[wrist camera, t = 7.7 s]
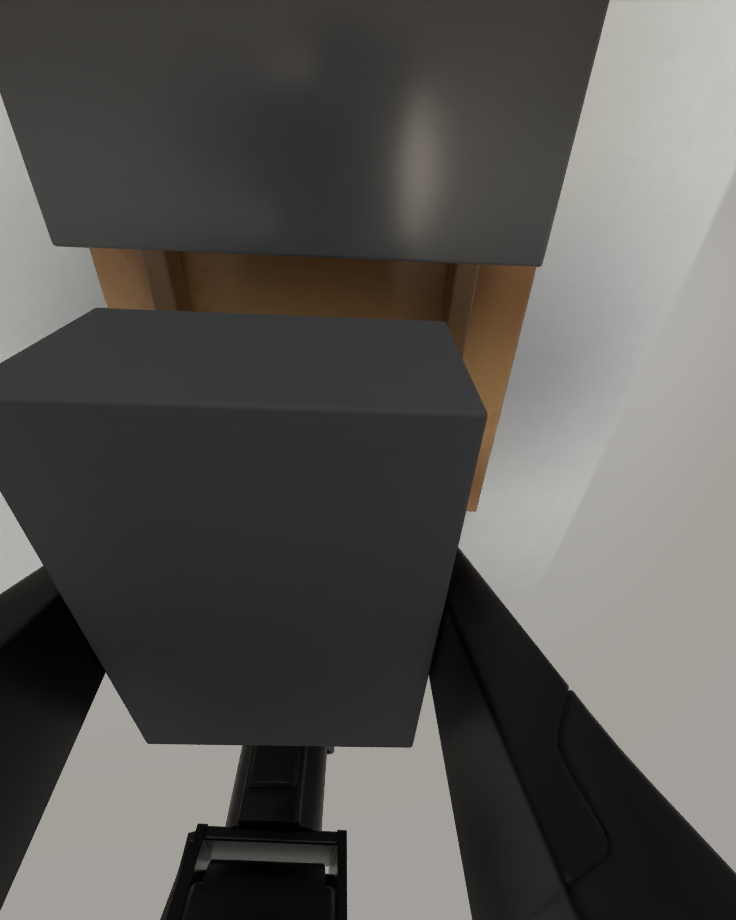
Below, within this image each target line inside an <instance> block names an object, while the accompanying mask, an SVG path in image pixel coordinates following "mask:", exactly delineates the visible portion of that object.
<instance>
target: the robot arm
mask: <svg viewBox="0 0 736 920" xmlns="http://www.w3.org/2000/svg"><path fill="white" fill-rule="evenodd" d="M104 675H105V670H104V668H103V667H102V665H101V663H100V661H99V660H98V658H97V656H96V655H95V653H94V651H93V649H92V648H91V646H90V644H89V642H88V641H87V639H86V637H85V636H84V634H83V632H82V630H81V629H80V627H79V625H78V624H77V622H76V620H75V618H74V617H73V615H72V613H71V612H70V610H69V608H68V606H67V605H66V603H65V601H64V600H63V598H62V596H61V594H60V593H59V591H58V589H57V588H56V586H55V584H54V582H53V581H52V579H51V577H50V576H49V574H48V572H47V570H46V569H45V567H44V566H42V567H41V568H39V569H38V570H36V571H35V572H33V573H32V574H30V575H29V576H27V577H26V578H24V579H23V580H21V581H20V582H18V583H17V584H15V585H14V586H12V587H11V588H9V589H7V590H6V591H4V592H3V593H1V594H0V910H1V908H2V905H3V903H4V901H5V899H6V896H7V894H8V892H9V889H10V887H11V885H12V882H13V880H14V878H15V876H16V874H17V871H18V869H19V867H20V865H21V862H22V860H23V858H24V855H25V853H26V851H27V849H28V846H29V844H30V842H31V840H32V838H33V835H34V833H35V830H36V828H37V826H38V824H39V822H40V819H41V817H42V815H43V813H44V810H45V808H46V806H47V803H48V801H49V799H50V797H51V795H52V792H53V790H54V788H55V785H56V783H57V781H58V779H59V776H60V774H61V772H62V770H63V767H64V765H65V763H66V760H67V758H68V756H69V754H70V751H71V749H72V747H73V745H74V743H75V740H76V738H77V736H78V733H79V731H80V729H81V727H82V724H83V722H84V720H85V718H86V715H87V713H88V711H89V709H90V706H91V704H92V702H93V699H94V697H95V695H96V693H97V690H98V688H99V686H100V684H101V681H102V679H103V677H104ZM429 678H430V684H431V689H432V695H433V700H434V706H435V712H436V718H437V723H438V728H439V735H440V740H441V746H442V751H443V757H444V763H445V768H446V774H447V779H448V785H449V791H450V796H451V802H452V808H453V813H454V819H455V825H456V830H457V836H458V842H459V847H460V853H461V858H462V864H463V869H464V875H465V881H466V887H467V892H468V898H469V903H470V909H471V915H472V920H736V873H735V872H734V871H733V870H732V869H731V868H730V867H729V866H728V865H727V863H726V862H725V861H724V860H723V859H722V858H721V857H720V856H719V855H718V854H717V853H716V852H715V851H714V850H713V848H712V847H711V846H710V845H709V844H708V843H707V842H706V841H705V840H704V839H703V838H702V837H701V836H700V835H699V834H698V833H697V831H696V830H695V829H694V828H693V827H692V826H691V825H690V824H689V823H688V822H687V821H686V820H685V819H684V817H683V816H682V815H681V814H680V813H679V812H678V811H677V810H676V809H675V808H674V807H673V806H672V805H671V804H670V803H669V801H668V800H667V799H666V798H665V797H664V796H663V795H662V794H661V793H660V792H659V791H658V790H657V789H656V788H655V787H654V785H653V784H652V783H651V782H650V781H649V780H648V779H647V778H646V777H645V775H644V774H643V773H642V772H641V771H640V770H639V769H638V768H637V767H636V765H635V764H634V763H633V762H632V761H631V760H630V759H629V758H628V757H627V756H626V755H625V754H624V752H623V751H622V750H621V749H620V748H619V747H618V745H617V744H616V743H615V742H614V741H613V739H612V738H611V737H610V736H609V735H608V733H607V732H606V731H605V730H604V729H603V727H602V726H601V725H600V724H599V723H598V721H597V720H596V719H595V718H594V717H593V715H592V714H591V713H590V712H589V711H588V709H587V708H586V707H585V706H584V704H583V703H582V702H581V701H580V699H579V698H578V697H577V696H576V694H575V693H574V692H573V691H572V690H569V691H568V689H569V686H568V685H567V683H566V682H565V681H564V679H563V678H562V677H561V676H560V675H559V673H558V672H557V671H556V669H555V668H554V667H553V666H552V664H551V663H550V662H549V661H548V659H547V658H546V657H545V656H544V654H543V653H542V652H541V651H540V649H539V648H538V647H537V646H536V645H535V643H534V642H533V641H532V639H531V638H530V637H529V636H528V634H527V633H526V632H525V631H524V629H523V628H522V627H521V625H520V624H519V623H518V622H517V620H516V619H515V618H514V617H513V615H512V614H511V613H510V612H509V610H508V609H507V608H506V607H505V606H504V604H503V603H502V602H501V600H500V599H499V598H498V597H497V595H496V594H495V593H494V592H493V590H492V589H491V588H490V587H489V585H488V584H487V583H486V582H485V580H484V579H483V578H482V577H481V575H480V574H479V573H478V572H477V570H476V569H475V568H474V567H473V565H472V564H471V563H470V561H469V560H468V559H467V558H466V556H465V555H464V554H463V553H462V551H461V550H460V549H459V548H457V553H456V557H455V562H454V566H453V570H452V575H451V579H450V583H449V588H448V592H447V597H446V601H445V605H444V610H443V614H442V618H441V623H440V627H439V632H438V636H437V640H436V645H435V649H434V654H433V658H432V662H431V667H430V671H429ZM333 752H334V746H268V745H242V750H241V755H240V759H239V764H238V769H237V774H236V779H235V783H234V788H233V793H232V798H231V802H230V807H229V812H228V817H227V821H226V826H225V827H218V826H216V827H215V826H208V824H198V825H197V829H196V831H194V832H191V833H188V837H187V841H186V845H185V848H184V852H183V856H182V860H181V863H180V867H179V870H178V873H177V876H176V879H175V882H174V884H173V887H172V890H171V892H170V895H169V898H168V900H167V903H166V906H165V908H164V911H163V914H162V916H161V919H160V920H347V831H346V830H337V832H329V831H322V815H323V800H324V786H325V771H326V756H327V754H332V753H333ZM325 866H329V874H325Z"/></svg>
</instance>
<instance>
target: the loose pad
mask: <svg viewBox="0 0 736 920" xmlns="http://www.w3.org/2000/svg"><path fill="white" fill-rule="evenodd" d="M487 417H488V414H487V411H486V409H485V407H484V404H483V402H482V400H481V398H480V396H479V394H478V391H477V389H476V387H475V385H474V383H473V381H472V378H471V376H470V374H469V372H468V370H467V368H466V365H465V363H464V361H463V359H462V357H461V355H460V352H459V350H458V348H457V346H456V344H455V342H454V339H453V337H452V335H451V333H450V331H449V329H448V326H447V324H446V323H445V322H443V321H420V320H395V319H369V318H343V317H318V316H292V315H267V314H241V313H215V312H190V311H164V310H139V309H113V308H95V309H93V310H91V311H90V312H88V313H86V314H85V315H83V316H81V317H79V318H78V319H76V320H74V321H72V322H71V323H69V324H67V325H66V326H64V327H62V328H60V329H59V330H57V331H55V332H54V333H52V334H50V335H48V336H47V337H45V338H43V339H41V340H40V341H38V342H36V343H35V344H33V345H31V346H29V347H28V348H26V349H24V350H22V351H21V352H19V353H17V354H16V355H14V356H12V357H10V358H9V359H7V360H5V361H3V362H2V363H0V491H1V493H2V495H3V497H4V498H5V500H6V502H7V503H8V505H9V507H10V509H11V510H12V512H13V514H14V515H15V517H16V519H17V521H18V522H19V524H20V526H21V527H22V529H23V531H24V533H25V534H26V536H27V538H28V539H29V541H30V543H31V545H32V546H33V548H34V550H35V552H36V553H37V555H38V557H39V558H40V560H41V562H42V564H43V565H44V567H45V569H46V570H47V572H48V574H49V576H50V577H51V579H52V581H53V582H54V584H55V586H56V588H57V589H58V591H59V593H60V594H61V596H62V598H63V600H64V601H65V603H66V605H67V606H68V608H69V610H70V612H71V613H72V615H73V617H74V618H75V620H76V622H77V624H78V625H79V627H80V629H81V630H82V632H83V634H84V636H85V637H86V639H87V641H88V642H89V644H90V646H91V648H92V649H93V651H94V653H95V655H96V656H97V658H98V660H99V661H100V663H101V665H102V667H103V668H104V670H105V672H106V673H107V675H108V677H109V678H110V680H111V682H112V684H113V685H114V687H115V689H116V691H117V692H118V694H119V696H120V697H121V699H122V701H123V703H124V704H125V706H126V708H127V709H128V711H129V713H130V715H131V716H132V718H133V720H134V721H135V723H136V725H137V727H138V728H139V730H140V732H141V733H142V735H143V737H144V739H145V740H146V742H147V743H148V744H197V745H200V744H203V745H268V746H340V747H341V746H342V747H412V745H413V741H414V737H415V732H416V728H417V724H418V719H419V715H420V710H421V706H422V702H423V697H424V693H425V688H426V684H427V680H428V675H429V671H430V667H431V662H432V658H433V654H434V649H435V645H436V640H437V636H438V632H439V627H440V623H441V618H442V614H443V610H444V605H445V601H446V597H447V592H448V588H449V583H450V579H451V575H452V570H453V566H454V562H455V557H456V553H457V548H458V544H459V540H460V535H461V531H462V527H463V522H464V518H465V513H466V509H467V505H468V500H469V496H470V491H471V487H472V483H473V478H474V474H475V470H476V465H477V461H478V456H479V452H480V448H481V443H482V439H483V435H484V430H485V426H486V421H487Z"/></svg>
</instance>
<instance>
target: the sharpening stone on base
mask: <svg viewBox="0 0 736 920" xmlns="http://www.w3.org/2000/svg"><path fill="white" fill-rule="evenodd" d="M608 4H609V0H0V93H1V96H2V99H3V102H4V105H5V108H6V111H7V114H8V116H9V119H10V122H11V125H12V128H13V131H14V134H15V137H16V140H17V142H18V145H19V148H20V151H21V154H22V157H23V160H24V163H25V166H26V168H27V171H28V174H29V177H30V180H31V183H32V186H33V189H34V192H35V194H36V197H37V200H38V203H39V206H40V209H41V212H42V215H43V218H44V220H45V223H46V226H47V229H48V232H49V235H50V238H51V241H52V243H53V245H55V246H62V247H85V248H90V251H91V255H92V258H93V261H94V265H95V268H96V271H97V274H98V278H99V281H100V284H101V288H102V291H103V294H104V298H105V301H106V304H107V307H108V308H113V309H139V310H164V311H190V312H215V313H241V314H267V315H292V316H318V317H343V318H369V319H395V320H420V321H443V322H445V323H446V324H447V326H448V329H449V331H450V333H451V335H452V337H453V339H454V342H455V344H456V346H457V348H458V350H459V352H460V355H461V357H462V359H463V361H464V363H465V365H466V368H467V370H468V372H469V374H470V376H471V378H472V381H473V383H474V385H475V387H476V389H477V391H478V394H479V396H480V398H481V400H482V402H483V404H484V407H485V409H486V411H487V414H488V417H487V421H486V426H485V430H484V435H483V439H482V443H481V448H480V452H479V456H478V461H477V465H476V470H475V474H474V478H473V483H472V487H471V491H470V496H469V500H468V505H467V509H466V511H476V509H477V505H478V501H479V497H480V493H481V489H482V485H483V481H484V477H485V473H486V469H487V465H488V461H489V456H490V452H491V448H492V444H493V440H494V436H495V432H496V428H497V424H498V420H499V416H500V412H501V408H502V404H503V400H504V396H505V392H506V388H507V384H508V380H509V376H510V372H511V368H512V364H513V360H514V356H515V352H516V348H517V344H518V339H519V335H520V331H521V327H522V323H523V319H524V315H525V311H526V307H527V303H528V299H529V295H530V291H531V287H532V283H533V279H534V275H535V271H536V267H540V266H541V265H542V263H543V260H544V256H545V252H546V248H547V244H548V240H549V236H550V232H551V228H552V224H553V220H554V216H555V212H556V208H557V204H558V201H559V197H560V193H561V189H562V185H563V181H564V177H565V173H566V169H567V165H568V161H569V157H570V153H571V149H572V145H573V142H574V138H575V134H576V130H577V126H578V122H579V118H580V114H581V110H582V106H583V102H584V98H585V94H586V90H587V86H588V83H589V79H590V75H591V71H592V67H593V63H594V59H595V55H596V51H597V47H598V43H599V39H600V35H601V31H602V27H603V24H604V20H605V16H606V12H607V8H608Z"/></svg>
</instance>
